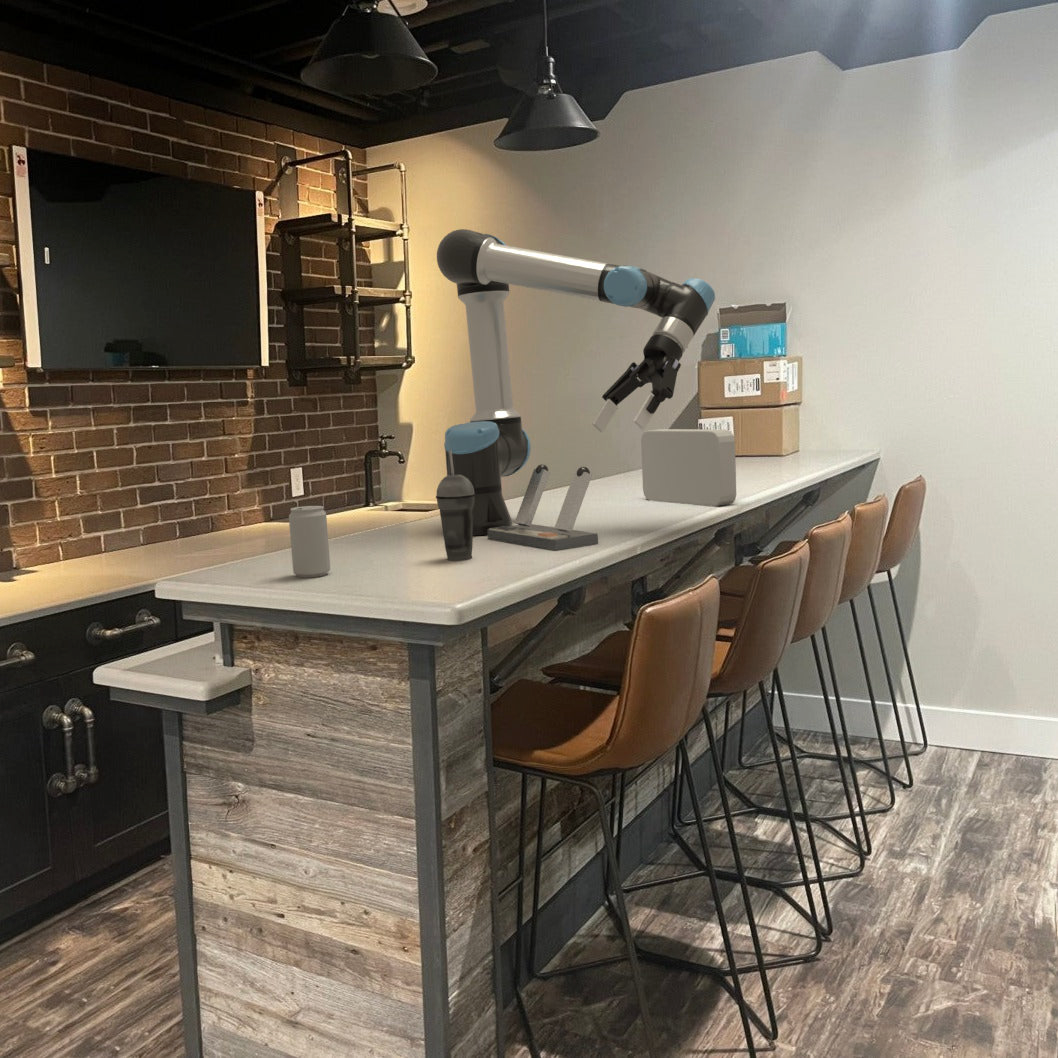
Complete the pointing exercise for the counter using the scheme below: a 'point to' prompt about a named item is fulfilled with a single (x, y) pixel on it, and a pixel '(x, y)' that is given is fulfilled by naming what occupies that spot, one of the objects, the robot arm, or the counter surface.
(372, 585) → the counter surface
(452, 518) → the beverage cup
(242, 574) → the counter surface
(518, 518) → the inner lever
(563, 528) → the outer lever
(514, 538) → the switch base
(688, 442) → the gray rounded block
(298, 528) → the beverage can
